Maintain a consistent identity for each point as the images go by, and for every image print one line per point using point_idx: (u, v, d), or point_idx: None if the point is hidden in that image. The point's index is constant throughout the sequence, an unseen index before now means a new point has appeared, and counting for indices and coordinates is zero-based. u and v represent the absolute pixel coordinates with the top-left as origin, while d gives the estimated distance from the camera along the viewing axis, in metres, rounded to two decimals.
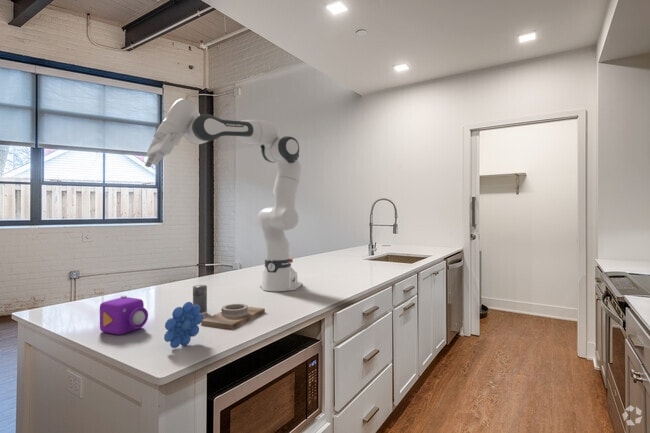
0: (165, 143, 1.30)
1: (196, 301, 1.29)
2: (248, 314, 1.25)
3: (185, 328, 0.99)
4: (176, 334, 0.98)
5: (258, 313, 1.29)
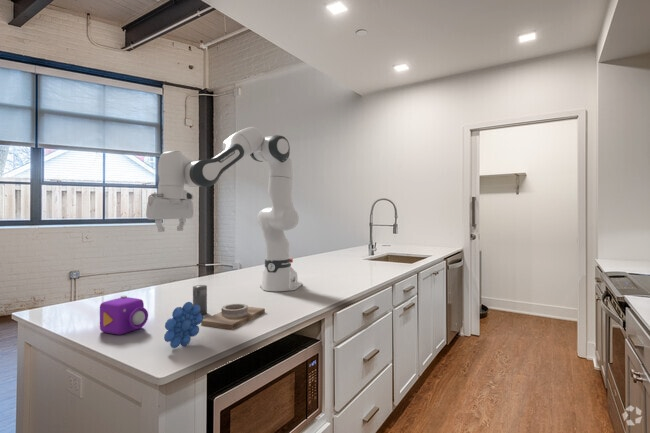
0: (146, 211, 1.26)
1: (196, 301, 1.29)
2: (248, 314, 1.25)
3: (185, 328, 0.99)
4: (176, 334, 0.98)
5: (258, 313, 1.29)
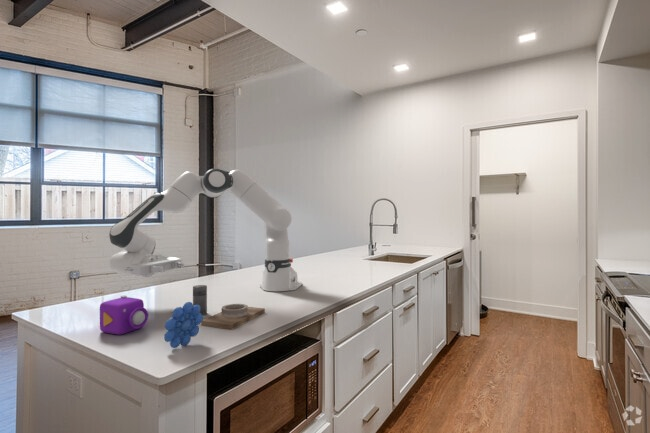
0: (136, 273, 1.29)
1: (196, 301, 1.29)
2: (248, 314, 1.25)
3: (185, 328, 0.99)
4: (176, 334, 0.98)
5: (258, 313, 1.29)
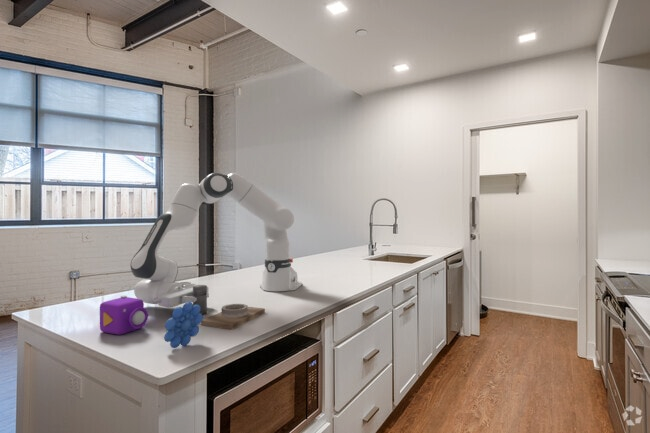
0: (164, 305, 1.24)
1: (196, 301, 1.29)
2: (248, 314, 1.25)
3: (185, 328, 0.99)
4: (176, 334, 0.98)
5: (258, 313, 1.29)
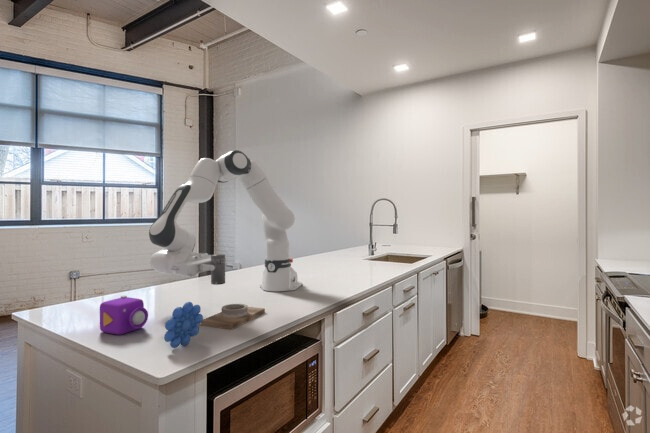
0: (183, 273, 1.21)
1: None
2: (248, 314, 1.25)
3: (185, 328, 0.99)
4: (176, 334, 0.98)
5: (258, 313, 1.29)
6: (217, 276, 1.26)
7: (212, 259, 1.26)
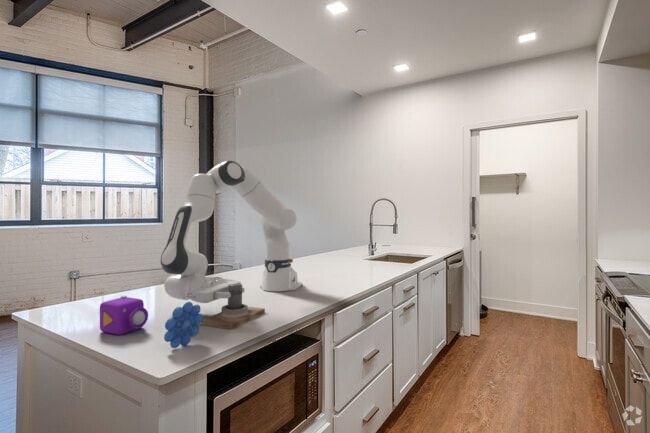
0: (200, 301, 1.19)
1: (232, 300, 1.24)
2: (248, 314, 1.25)
3: (185, 328, 0.99)
4: (176, 334, 0.98)
5: (258, 313, 1.29)
6: (234, 307, 1.24)
7: (229, 289, 1.24)
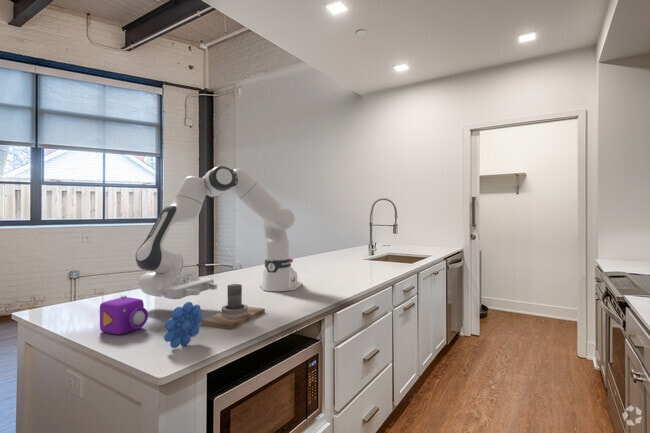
0: (170, 297, 1.23)
1: (231, 301, 1.23)
2: (248, 314, 1.25)
3: (185, 328, 0.99)
4: (176, 334, 0.98)
5: (258, 313, 1.29)
6: (234, 308, 1.23)
7: (229, 290, 1.24)
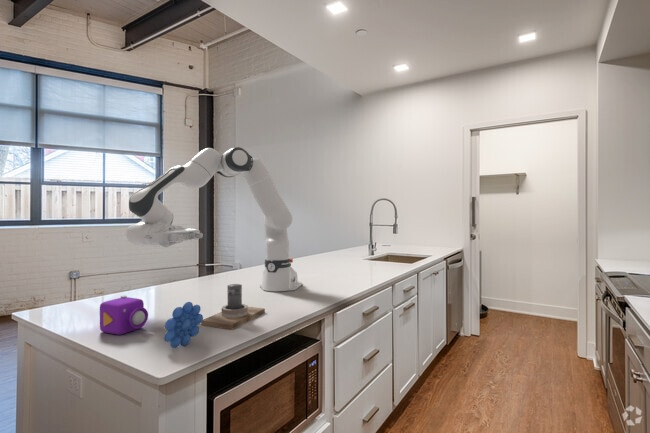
0: (155, 241, 1.25)
1: (231, 301, 1.23)
2: (248, 314, 1.25)
3: (185, 328, 0.99)
4: (176, 334, 0.98)
5: (258, 313, 1.29)
6: (234, 308, 1.23)
7: (229, 290, 1.24)
